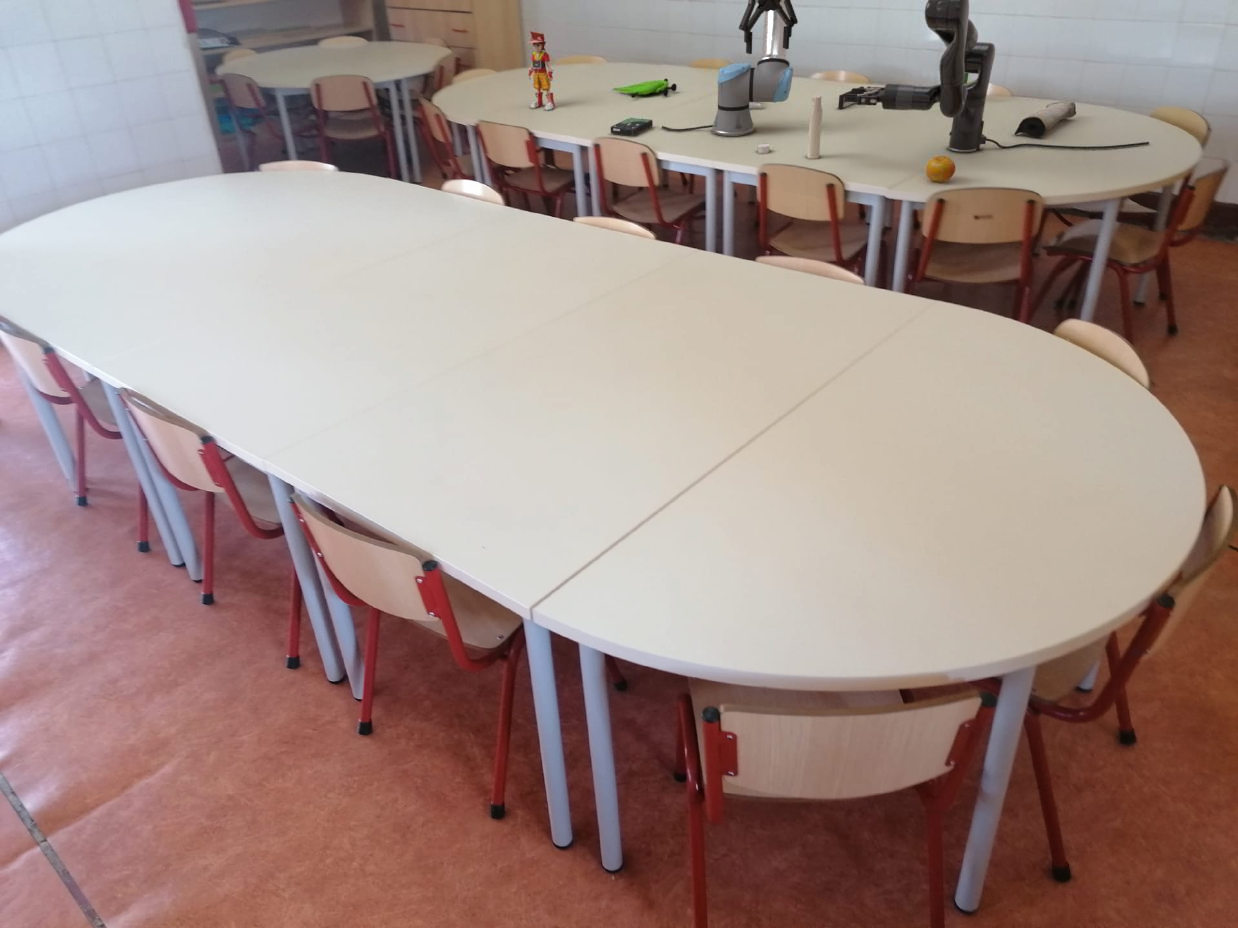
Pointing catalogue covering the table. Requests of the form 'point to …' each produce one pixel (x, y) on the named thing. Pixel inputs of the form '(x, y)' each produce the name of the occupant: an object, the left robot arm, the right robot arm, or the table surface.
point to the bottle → (815, 128)
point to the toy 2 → (648, 88)
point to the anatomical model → (754, 105)
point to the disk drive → (631, 126)
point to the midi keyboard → (842, 100)
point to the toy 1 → (541, 71)
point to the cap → (763, 148)
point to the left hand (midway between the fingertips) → (767, 51)
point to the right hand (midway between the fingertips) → (848, 95)
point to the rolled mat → (1046, 118)
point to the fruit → (940, 169)
